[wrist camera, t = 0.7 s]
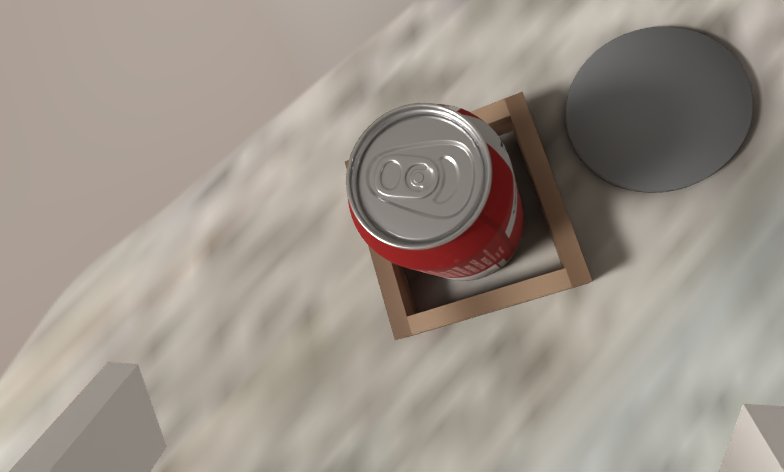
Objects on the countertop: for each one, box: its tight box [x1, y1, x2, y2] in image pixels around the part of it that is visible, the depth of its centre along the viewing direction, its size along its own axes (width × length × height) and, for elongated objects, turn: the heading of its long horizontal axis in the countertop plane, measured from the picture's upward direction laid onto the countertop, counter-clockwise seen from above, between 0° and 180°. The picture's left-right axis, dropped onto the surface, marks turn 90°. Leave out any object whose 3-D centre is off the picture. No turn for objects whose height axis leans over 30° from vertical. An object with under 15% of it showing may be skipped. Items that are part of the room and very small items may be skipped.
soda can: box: [346, 103, 524, 281], centre depth 25 cm, size 7×7×12 cm
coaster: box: [566, 27, 753, 193], centre depth 28 cm, size 9×9×1 cm
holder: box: [345, 92, 592, 340], centre depth 29 cm, size 11×11×2 cm
